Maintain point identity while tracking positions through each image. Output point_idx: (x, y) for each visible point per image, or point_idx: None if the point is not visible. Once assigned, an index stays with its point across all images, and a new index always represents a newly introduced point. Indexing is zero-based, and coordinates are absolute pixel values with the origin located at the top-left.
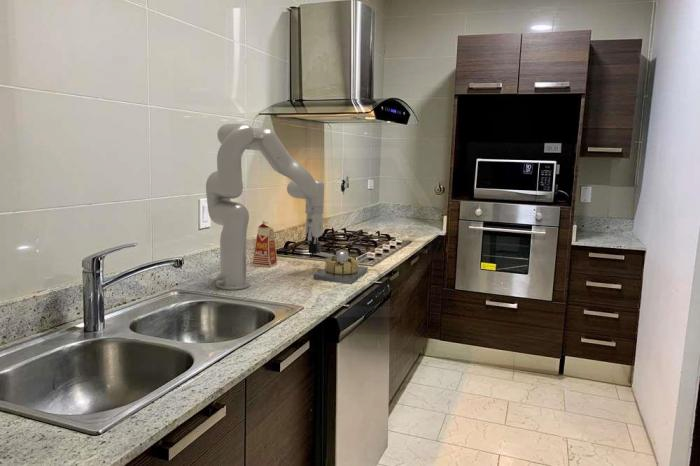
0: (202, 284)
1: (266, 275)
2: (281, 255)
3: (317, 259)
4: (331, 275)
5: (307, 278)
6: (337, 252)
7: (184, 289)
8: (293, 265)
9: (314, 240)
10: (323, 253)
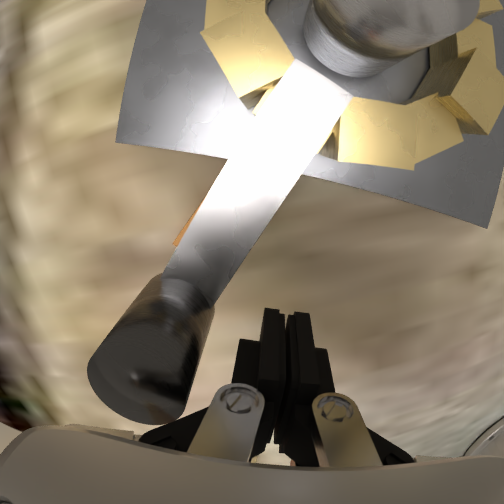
0: None
1: (400, 429)
2: (44, 420)
3: (5, 281)
4: None
5: (456, 256)
6: (463, 22)
7: None
8: None
9: (372, 446)
10: (237, 227)
